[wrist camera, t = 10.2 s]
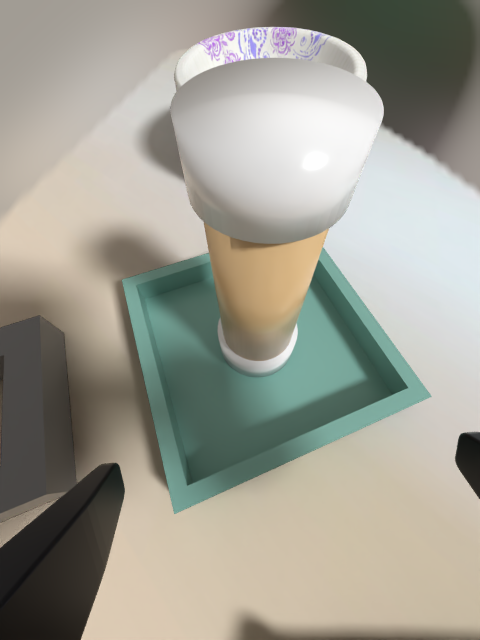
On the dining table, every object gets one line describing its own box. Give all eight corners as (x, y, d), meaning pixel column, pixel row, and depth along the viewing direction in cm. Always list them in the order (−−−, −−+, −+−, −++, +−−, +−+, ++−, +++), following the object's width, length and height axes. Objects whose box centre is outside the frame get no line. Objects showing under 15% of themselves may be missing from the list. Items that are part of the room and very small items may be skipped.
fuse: (288, 383, 16) (393, 173, 5) (213, 370, 16) (139, 151, 5) (295, 317, 18) (377, 62, 7) (228, 307, 19) (199, 53, 7)
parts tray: (406, 406, 16) (431, 396, 14) (185, 506, 14) (174, 514, 12) (299, 247, 22) (305, 223, 20) (135, 300, 20) (121, 279, 18)
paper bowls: (217, 228, 24) (205, 128, 17) (175, 138, 30) (153, 40, 23) (368, 186, 26) (414, 81, 19) (297, 111, 33) (311, 14, 26)
